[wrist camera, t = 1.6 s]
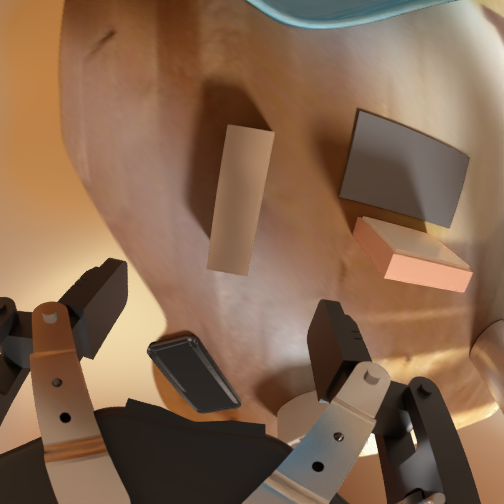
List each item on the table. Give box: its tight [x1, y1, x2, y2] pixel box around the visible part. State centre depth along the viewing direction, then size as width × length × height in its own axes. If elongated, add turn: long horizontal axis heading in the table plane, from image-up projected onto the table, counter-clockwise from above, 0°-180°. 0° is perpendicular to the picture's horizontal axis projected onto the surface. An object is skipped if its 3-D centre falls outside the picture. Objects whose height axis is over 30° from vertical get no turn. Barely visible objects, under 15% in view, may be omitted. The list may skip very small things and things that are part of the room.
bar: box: [207, 124, 275, 276], centre depth 25 cm, size 4×12×5 cm, turn 170°
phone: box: [147, 335, 241, 413], centre depth 37 cm, size 8×1×15 cm
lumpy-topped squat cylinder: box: [277, 391, 368, 449], centre depth 36 cm, size 10×13×9 cm
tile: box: [352, 216, 473, 293], centre depth 24 cm, size 9×2×9 cm, turn 79°
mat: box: [339, 111, 470, 228], centre depth 25 cm, size 14×8×1 cm, turn 79°
